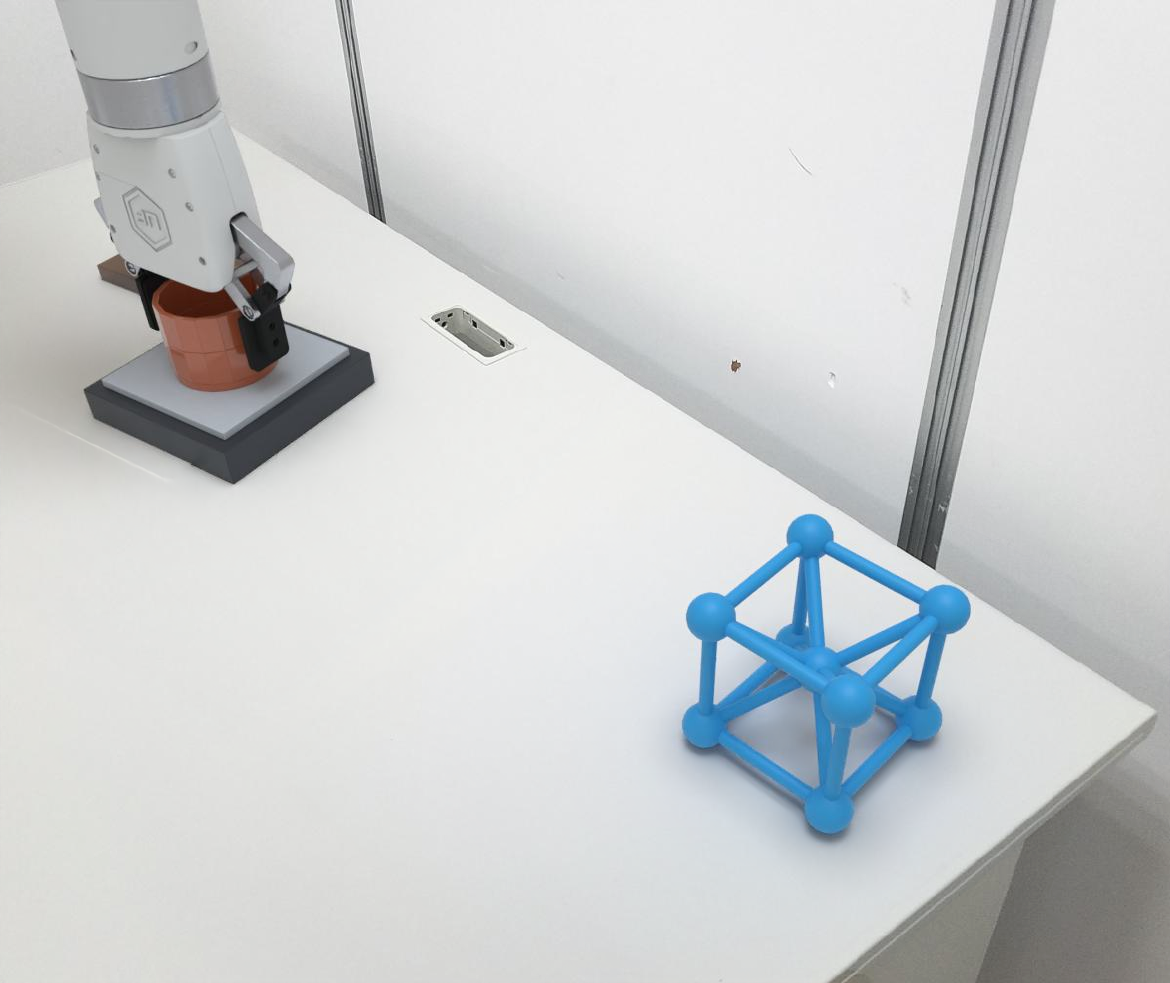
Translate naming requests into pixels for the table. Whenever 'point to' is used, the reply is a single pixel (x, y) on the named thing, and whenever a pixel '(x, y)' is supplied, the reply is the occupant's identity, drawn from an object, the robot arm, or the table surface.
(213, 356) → the terracotta cup
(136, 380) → the scale
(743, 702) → the molecular structure
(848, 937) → the table surface
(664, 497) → the table surface
